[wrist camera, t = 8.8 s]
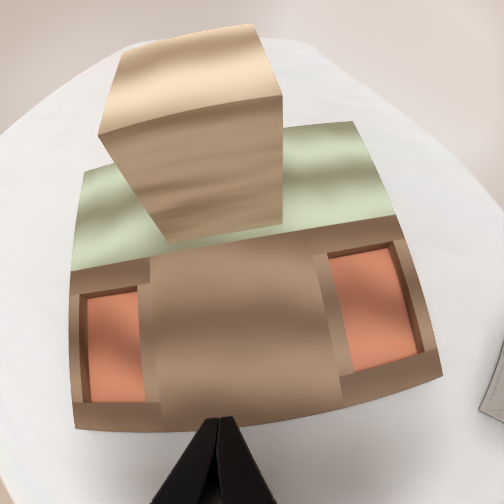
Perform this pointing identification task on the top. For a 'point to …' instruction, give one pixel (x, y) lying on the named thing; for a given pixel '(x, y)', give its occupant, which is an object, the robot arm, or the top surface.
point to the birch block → (199, 132)
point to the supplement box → (495, 393)
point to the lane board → (247, 302)
